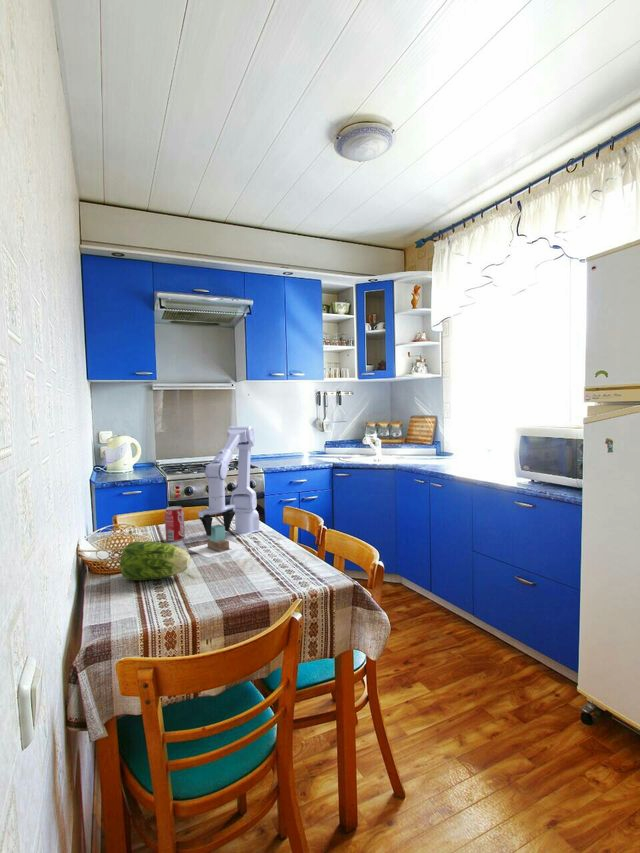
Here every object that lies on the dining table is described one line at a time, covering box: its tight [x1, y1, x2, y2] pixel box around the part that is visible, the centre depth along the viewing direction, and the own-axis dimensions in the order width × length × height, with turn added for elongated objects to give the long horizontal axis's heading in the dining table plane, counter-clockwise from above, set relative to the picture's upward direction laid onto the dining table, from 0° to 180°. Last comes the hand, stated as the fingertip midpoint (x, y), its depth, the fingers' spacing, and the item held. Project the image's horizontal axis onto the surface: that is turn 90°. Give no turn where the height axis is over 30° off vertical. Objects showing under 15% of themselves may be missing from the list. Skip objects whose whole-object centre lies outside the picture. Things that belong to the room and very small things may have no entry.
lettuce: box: [119, 541, 191, 581], centre depth 139 cm, size 12×21×11 cm, turn 90°
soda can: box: [164, 505, 186, 543], centre depth 179 cm, size 7×7×13 cm
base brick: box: [207, 538, 230, 552], centre depth 166 cm, size 4×8×3 cm, turn 45°
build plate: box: [188, 538, 246, 558], centre depth 167 cm, size 16×14×1 cm
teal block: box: [209, 524, 226, 542], centre depth 166 cm, size 4×4×5 cm
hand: (217, 533), depth 166 cm, fingers open, 7 cm apart
